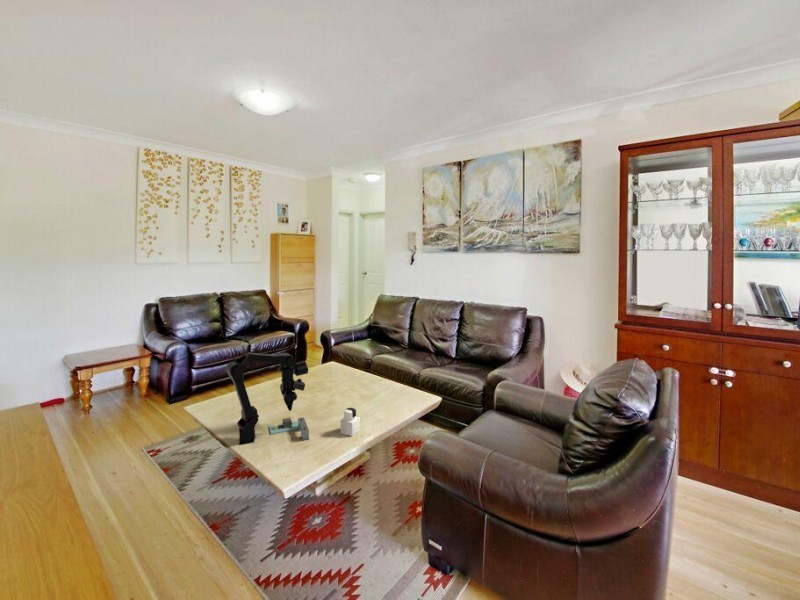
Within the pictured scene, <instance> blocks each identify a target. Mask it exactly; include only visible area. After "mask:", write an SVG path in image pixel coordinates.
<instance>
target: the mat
mask: <svg viewBox="0 0 800 600" xmlns="http://www.w3.org/2000/svg"><path fill="white" fill-rule="evenodd" d="M276 424H277V425H283V422H282V423H276ZM268 426H269V434H270V435H277V434H280V433H286V432H287V433H288V432H291V431H292V432H293V431H299V428H298V420H293V424H292V427H290V428H285V429H284V428H283V427H280V428H278V429H276V430H275V424H272V425H268Z"/></svg>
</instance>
